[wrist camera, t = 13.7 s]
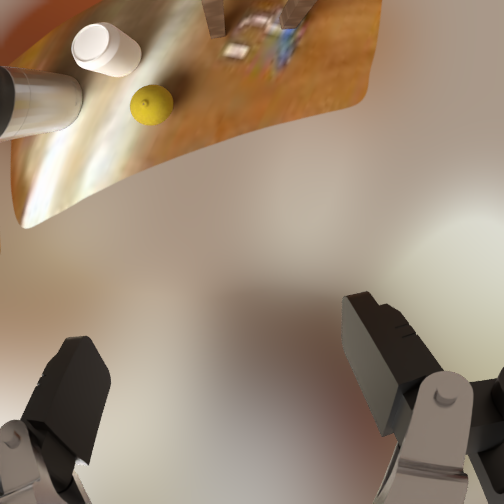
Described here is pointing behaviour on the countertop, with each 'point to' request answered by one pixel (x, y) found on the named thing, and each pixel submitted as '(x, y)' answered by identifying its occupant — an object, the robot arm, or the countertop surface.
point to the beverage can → (105, 50)
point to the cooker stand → (289, 18)
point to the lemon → (151, 105)
